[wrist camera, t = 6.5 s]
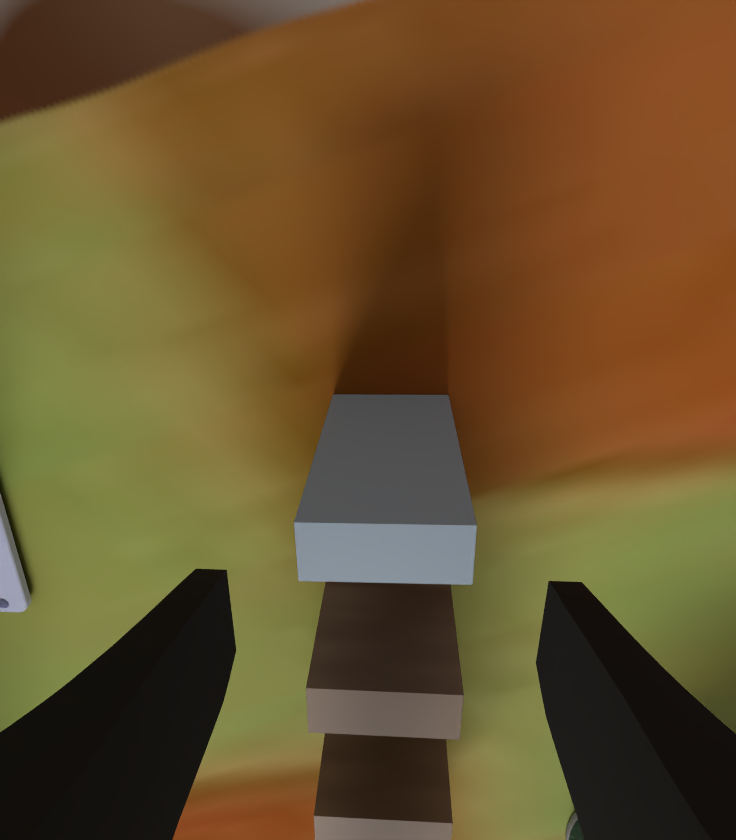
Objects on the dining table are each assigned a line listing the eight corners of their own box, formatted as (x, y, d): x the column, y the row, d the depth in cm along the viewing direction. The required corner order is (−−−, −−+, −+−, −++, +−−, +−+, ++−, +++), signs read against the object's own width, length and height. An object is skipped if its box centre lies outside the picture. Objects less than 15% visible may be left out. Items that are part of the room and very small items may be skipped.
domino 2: (338, 551, 23) (308, 732, 15) (338, 516, 22) (306, 688, 15) (440, 554, 22) (459, 739, 15) (442, 519, 22) (463, 695, 14)
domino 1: (334, 436, 21) (298, 581, 13) (333, 394, 20) (294, 522, 13) (446, 436, 20) (472, 584, 13) (448, 394, 20) (476, 525, 12)
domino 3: (340, 647, 25) (315, 850, 17) (340, 618, 24) (313, 816, 17) (434, 651, 24) (449, 857, 17) (436, 622, 24) (452, 823, 16)
